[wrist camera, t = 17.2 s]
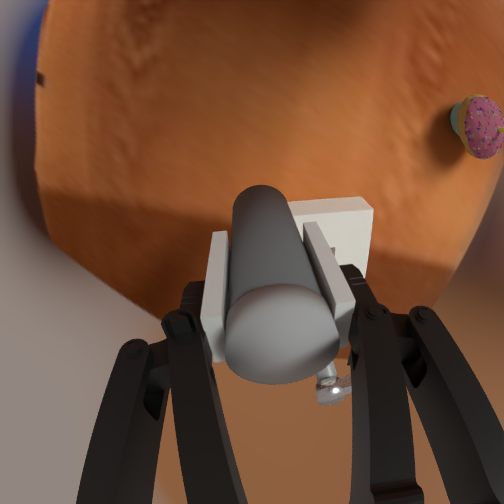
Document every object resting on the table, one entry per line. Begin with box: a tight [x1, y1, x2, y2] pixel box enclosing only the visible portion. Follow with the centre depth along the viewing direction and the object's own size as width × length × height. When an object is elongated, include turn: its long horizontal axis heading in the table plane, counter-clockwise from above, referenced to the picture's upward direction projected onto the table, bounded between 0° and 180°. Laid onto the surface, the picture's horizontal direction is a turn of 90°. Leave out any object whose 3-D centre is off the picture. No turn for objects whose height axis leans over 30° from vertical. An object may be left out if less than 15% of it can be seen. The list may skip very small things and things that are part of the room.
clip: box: [315, 374, 352, 405], centre depth 29 cm, size 15×3×4 cm, turn 110°
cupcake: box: [450, 94, 504, 159], centre depth 22 cm, size 9×8×12 cm
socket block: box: [287, 196, 374, 382], centre depth 32 cm, size 18×14×15 cm
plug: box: [225, 185, 340, 385], centre depth 15 cm, size 4×4×12 cm
